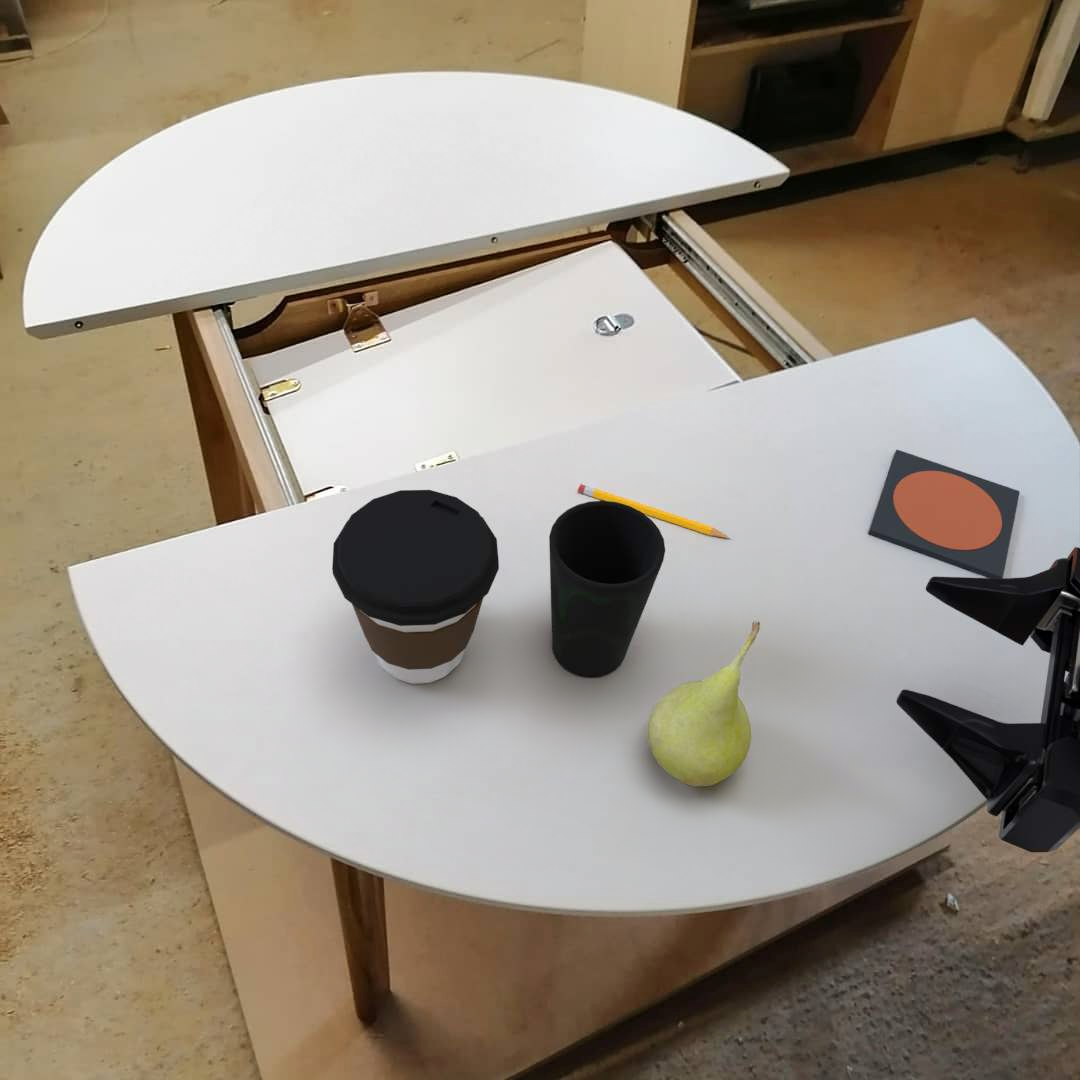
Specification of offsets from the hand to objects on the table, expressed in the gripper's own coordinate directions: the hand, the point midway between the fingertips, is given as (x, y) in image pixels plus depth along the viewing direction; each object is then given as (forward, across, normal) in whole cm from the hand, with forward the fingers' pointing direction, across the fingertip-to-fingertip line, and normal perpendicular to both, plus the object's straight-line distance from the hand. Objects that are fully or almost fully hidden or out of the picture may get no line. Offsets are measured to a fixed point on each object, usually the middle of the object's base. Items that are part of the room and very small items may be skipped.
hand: (914, 636), depth 60 cm
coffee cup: (+31, +6, +14) cm, 34 cm away
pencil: (+20, -15, +14) cm, 29 cm away
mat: (-2, -27, +14) cm, 31 cm away
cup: (+20, 0, +14) cm, 24 cm away
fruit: (+10, +5, +14) cm, 18 cm away
